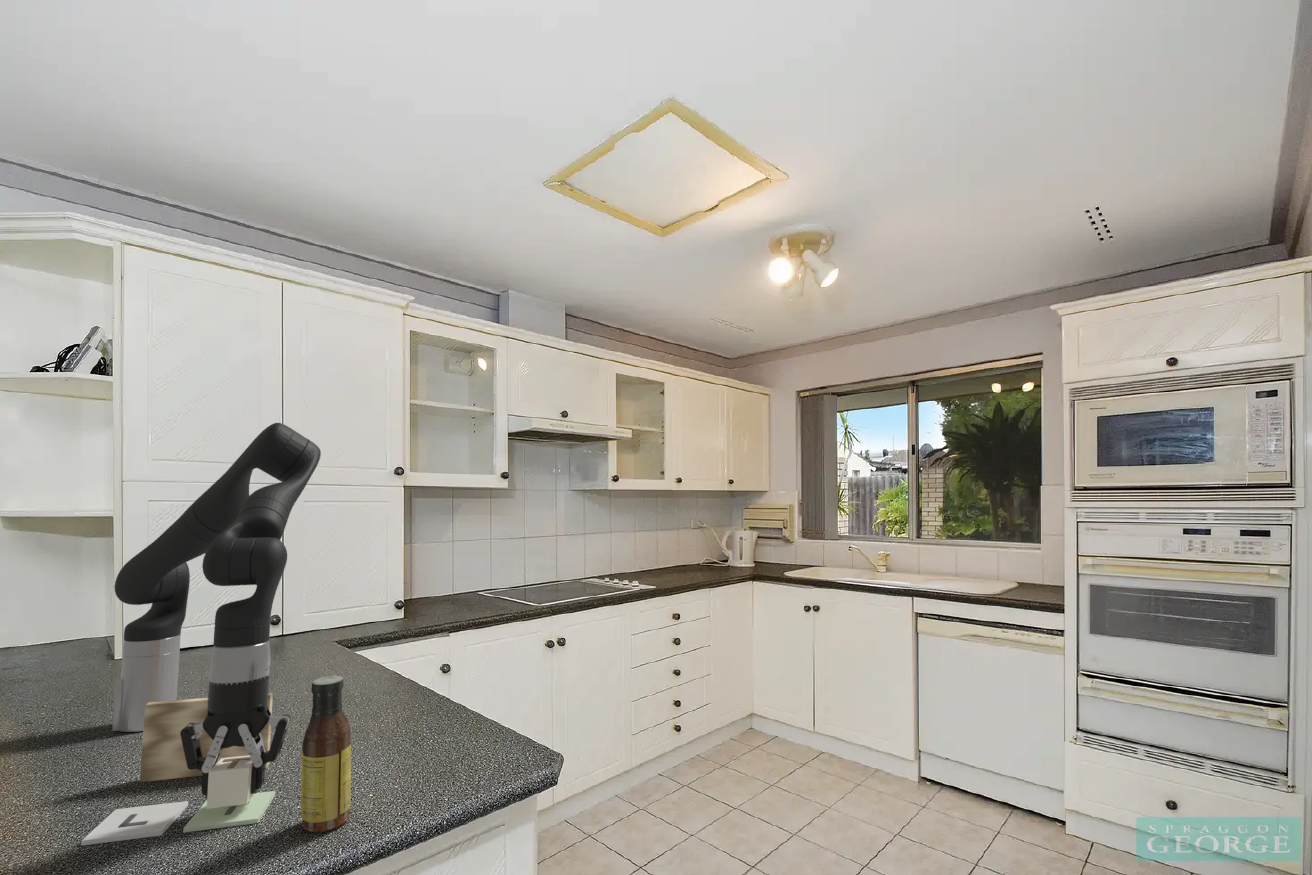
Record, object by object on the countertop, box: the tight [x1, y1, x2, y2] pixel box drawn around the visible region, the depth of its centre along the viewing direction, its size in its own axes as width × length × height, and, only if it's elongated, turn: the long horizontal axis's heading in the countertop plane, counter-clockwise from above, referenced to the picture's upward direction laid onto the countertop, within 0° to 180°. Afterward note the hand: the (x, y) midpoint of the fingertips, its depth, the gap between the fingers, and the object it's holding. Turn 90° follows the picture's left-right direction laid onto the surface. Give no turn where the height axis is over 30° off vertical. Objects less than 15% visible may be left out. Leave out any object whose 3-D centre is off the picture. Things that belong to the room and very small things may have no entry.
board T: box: [182, 790, 276, 834], centre depth 94 cm, size 9×9×1 cm
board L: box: [80, 800, 189, 846], centre depth 91 cm, size 9×9×1 cm
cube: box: [206, 755, 254, 809], centre depth 95 cm, size 5×5×5 cm
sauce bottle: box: [300, 675, 352, 834], centre depth 92 cm, size 7×6×20 cm
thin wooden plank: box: [139, 692, 274, 783], centre depth 108 cm, size 18×2×12 cm, turn 107°
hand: (233, 793), depth 94 cm, fingers closed on cube, 5 cm apart
